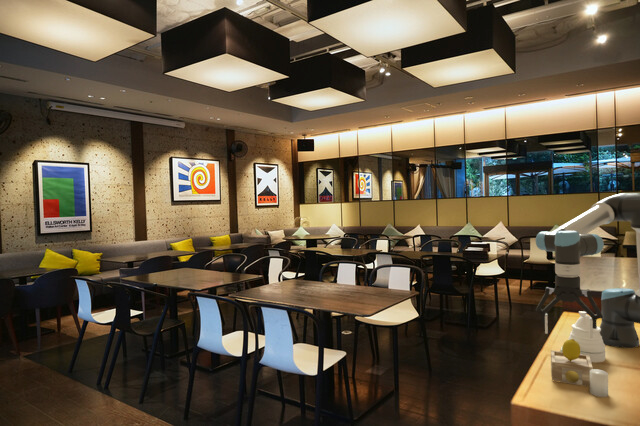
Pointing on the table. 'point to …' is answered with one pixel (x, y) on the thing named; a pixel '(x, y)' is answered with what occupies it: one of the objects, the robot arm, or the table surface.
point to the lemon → (571, 349)
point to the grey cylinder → (598, 383)
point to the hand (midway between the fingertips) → (568, 335)
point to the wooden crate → (571, 369)
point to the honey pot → (588, 339)
